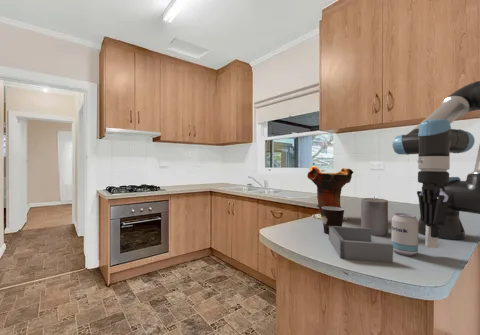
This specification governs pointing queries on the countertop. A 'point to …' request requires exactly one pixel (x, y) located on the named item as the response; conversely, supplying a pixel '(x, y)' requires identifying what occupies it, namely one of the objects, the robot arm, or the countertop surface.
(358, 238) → the box
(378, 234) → the pillar candle
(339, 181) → the decorative vase
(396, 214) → the beverage can
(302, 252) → the countertop surface
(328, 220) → the coffee mug
